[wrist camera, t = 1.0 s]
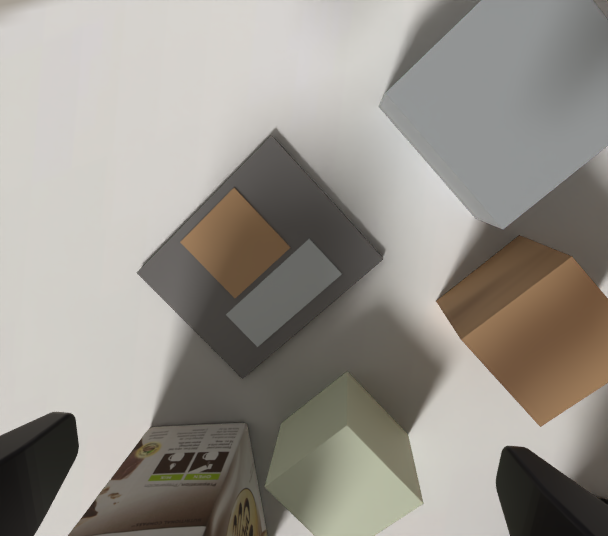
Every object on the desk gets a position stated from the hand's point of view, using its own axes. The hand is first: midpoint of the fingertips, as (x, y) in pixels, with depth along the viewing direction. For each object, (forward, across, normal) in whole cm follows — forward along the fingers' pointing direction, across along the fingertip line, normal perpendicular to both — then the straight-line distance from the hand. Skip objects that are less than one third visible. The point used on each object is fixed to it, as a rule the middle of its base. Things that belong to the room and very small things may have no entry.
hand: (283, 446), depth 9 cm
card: (+13, +3, 0) cm, 14 cm away
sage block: (+13, -2, +9) cm, 16 cm away
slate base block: (+14, -8, -8) cm, 18 cm away
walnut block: (+13, -10, +1) cm, 16 cm away
